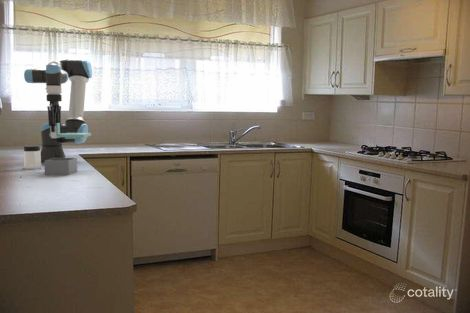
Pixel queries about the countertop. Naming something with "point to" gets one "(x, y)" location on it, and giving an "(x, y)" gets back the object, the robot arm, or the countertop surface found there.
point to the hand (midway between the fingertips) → (55, 137)
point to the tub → (60, 166)
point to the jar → (32, 157)
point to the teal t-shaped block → (69, 135)
